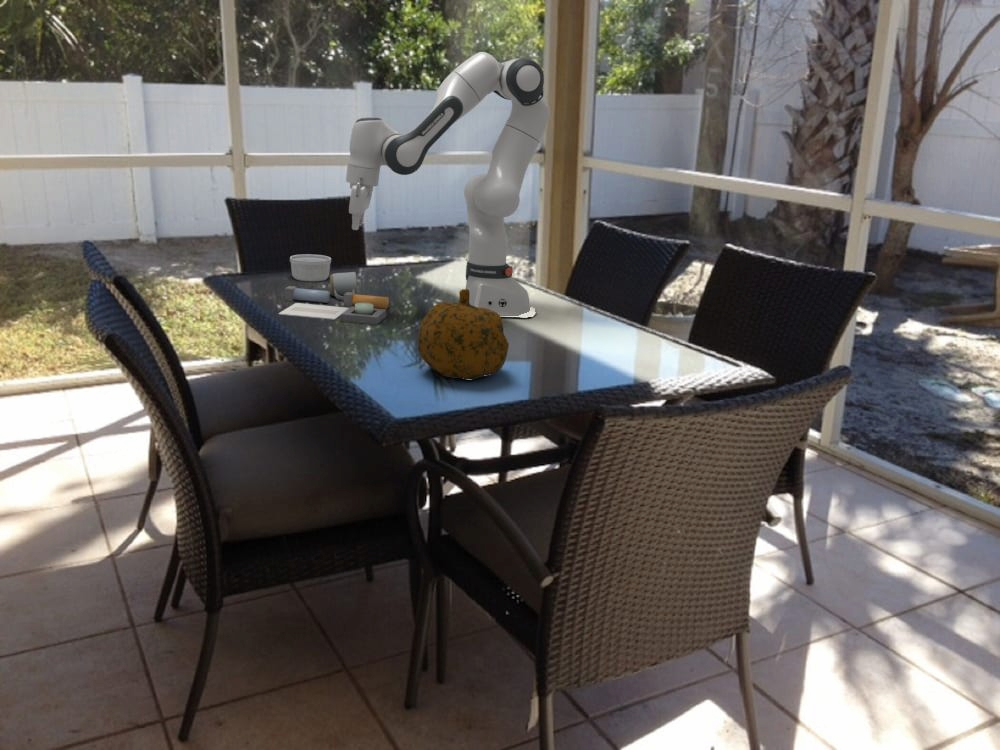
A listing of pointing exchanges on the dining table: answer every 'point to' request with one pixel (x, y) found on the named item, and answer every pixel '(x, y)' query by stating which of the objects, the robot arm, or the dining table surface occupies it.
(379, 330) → the dining table surface
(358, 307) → the button
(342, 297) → the ceramic mug
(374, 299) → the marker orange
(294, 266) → the ramekin
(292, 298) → the marker blue
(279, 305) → the dining table surface
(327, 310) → the paper
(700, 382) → the dining table surface
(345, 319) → the button base
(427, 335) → the decorative pumpkin
